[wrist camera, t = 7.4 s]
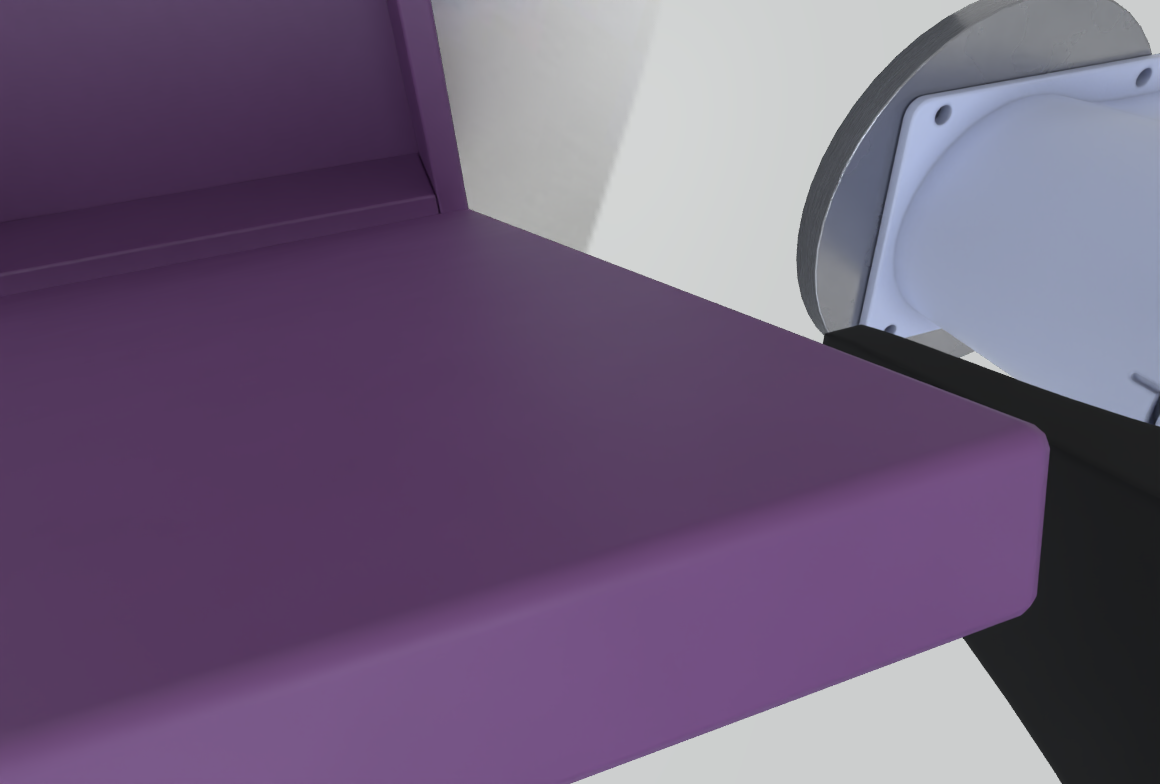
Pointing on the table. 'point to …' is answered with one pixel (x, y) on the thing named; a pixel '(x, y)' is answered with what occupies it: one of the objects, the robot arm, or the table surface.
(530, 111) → the table surface
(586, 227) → the table surface
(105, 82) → the purple box
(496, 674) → the box cover
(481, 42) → the table surface
